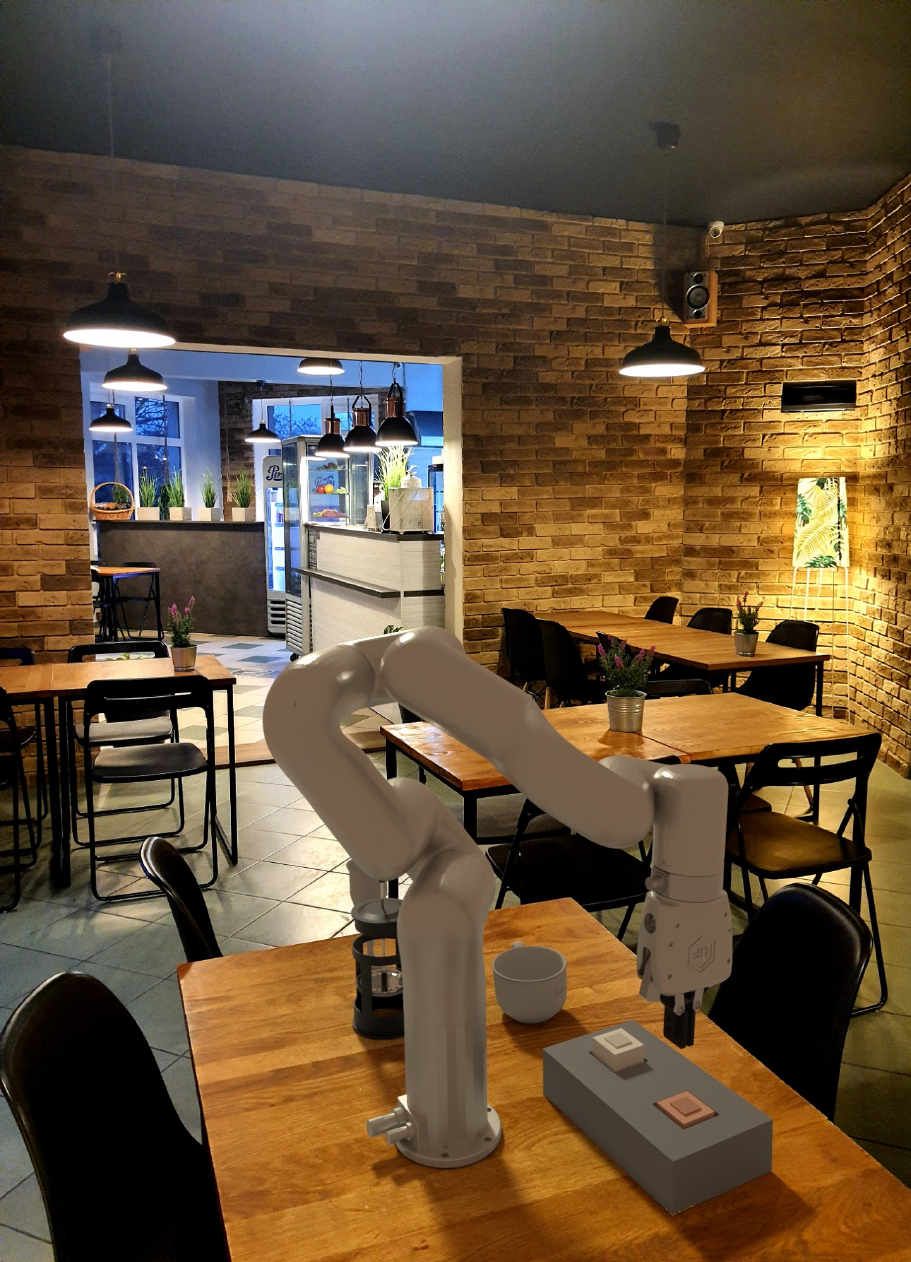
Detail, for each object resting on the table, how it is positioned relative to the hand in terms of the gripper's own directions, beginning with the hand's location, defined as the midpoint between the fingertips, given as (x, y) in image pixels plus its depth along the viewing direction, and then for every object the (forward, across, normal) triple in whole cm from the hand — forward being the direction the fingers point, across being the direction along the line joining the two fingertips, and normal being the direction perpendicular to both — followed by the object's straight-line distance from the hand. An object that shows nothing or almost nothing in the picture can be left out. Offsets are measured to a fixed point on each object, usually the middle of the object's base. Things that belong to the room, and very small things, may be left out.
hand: (678, 1040), depth 103 cm
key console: (+14, +1, +5) cm, 15 cm away
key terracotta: (+11, +1, -1) cm, 11 cm away
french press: (+16, -16, +42) cm, 48 cm away
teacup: (+15, +4, +36) cm, 39 cm away
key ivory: (+9, +1, +11) cm, 14 cm away
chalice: (+16, -12, +58) cm, 61 cm away
